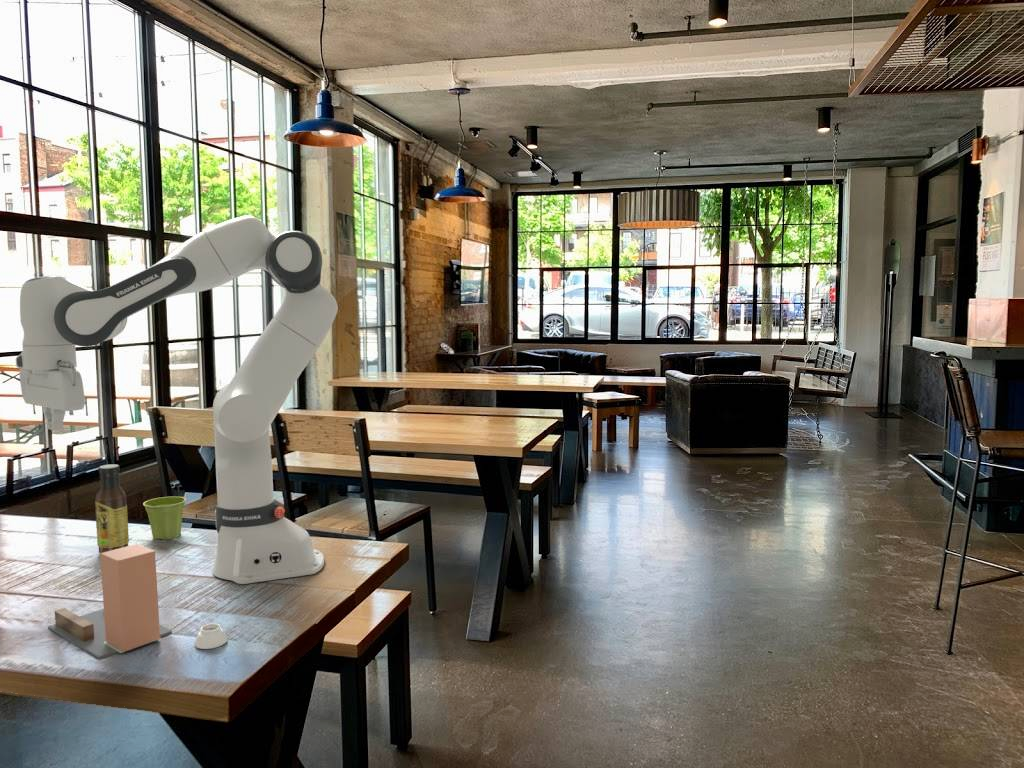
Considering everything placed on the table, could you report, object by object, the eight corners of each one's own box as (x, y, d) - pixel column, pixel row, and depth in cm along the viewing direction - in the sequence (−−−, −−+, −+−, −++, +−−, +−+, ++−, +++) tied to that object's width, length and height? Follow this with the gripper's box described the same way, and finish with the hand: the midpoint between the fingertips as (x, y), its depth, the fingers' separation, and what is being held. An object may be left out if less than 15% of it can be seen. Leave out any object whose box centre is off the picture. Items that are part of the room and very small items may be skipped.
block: (106, 641, 127) (100, 553, 126) (142, 629, 132) (136, 543, 130) (123, 651, 124) (117, 560, 122) (160, 638, 128) (154, 550, 127)
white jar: (231, 645, 127) (222, 635, 131) (230, 628, 127) (221, 618, 131) (199, 654, 125) (191, 642, 129) (198, 636, 124) (190, 625, 128)
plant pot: (140, 535, 186) (138, 500, 185) (181, 528, 192) (179, 494, 191) (151, 545, 179) (149, 508, 178) (193, 537, 185) (191, 501, 184)
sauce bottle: (94, 552, 174) (88, 465, 172) (124, 546, 179) (119, 461, 176) (103, 559, 170) (97, 470, 168) (133, 552, 174) (128, 465, 172)
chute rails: (55, 624, 135) (54, 611, 134) (114, 606, 142) (113, 593, 142) (84, 641, 128) (83, 627, 128) (144, 621, 136) (143, 607, 135)
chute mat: (48, 628, 134) (48, 625, 134) (118, 606, 144) (118, 603, 144) (103, 661, 122) (103, 658, 122) (176, 635, 131) (176, 632, 131)
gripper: (91, 360, 147) (96, 432, 148) (46, 356, 159) (51, 422, 161) (55, 363, 142) (61, 437, 144) (11, 358, 155) (17, 427, 156)
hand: (55, 429), depth 152 cm, fingers closed
